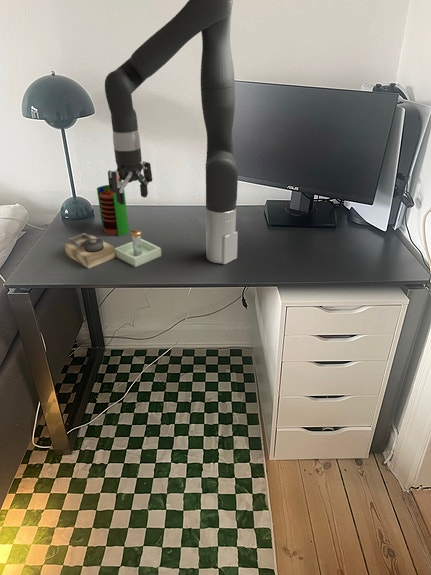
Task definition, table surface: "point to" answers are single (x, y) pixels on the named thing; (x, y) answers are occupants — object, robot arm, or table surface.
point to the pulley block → (89, 250)
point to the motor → (112, 212)
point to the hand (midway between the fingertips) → (133, 200)
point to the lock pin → (136, 242)
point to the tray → (128, 256)
